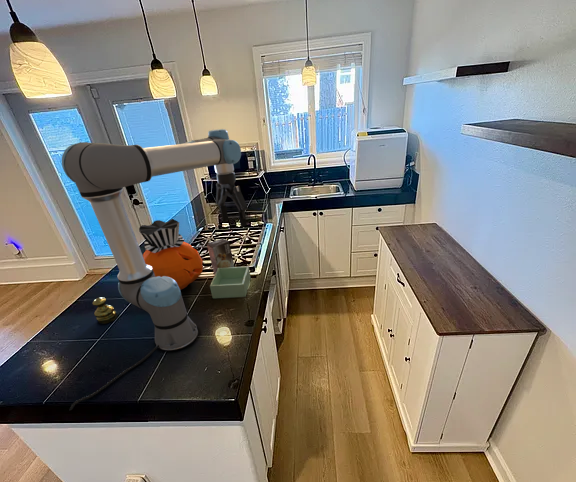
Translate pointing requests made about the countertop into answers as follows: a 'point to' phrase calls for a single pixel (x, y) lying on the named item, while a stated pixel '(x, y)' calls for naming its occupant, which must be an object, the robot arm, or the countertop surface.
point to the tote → (230, 282)
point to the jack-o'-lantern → (170, 253)
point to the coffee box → (220, 254)
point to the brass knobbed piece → (104, 311)
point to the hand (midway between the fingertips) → (234, 223)
